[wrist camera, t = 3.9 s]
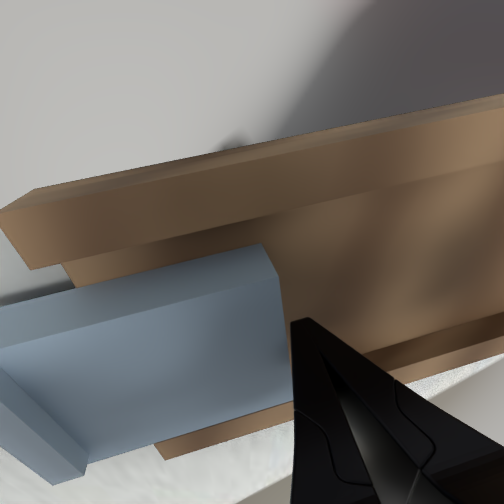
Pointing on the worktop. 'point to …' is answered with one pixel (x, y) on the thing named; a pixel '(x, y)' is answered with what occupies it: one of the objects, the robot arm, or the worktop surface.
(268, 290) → the blue mattress with pillow
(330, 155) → the brown flat wooden tray
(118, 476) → the worktop surface
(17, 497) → the worktop surface
